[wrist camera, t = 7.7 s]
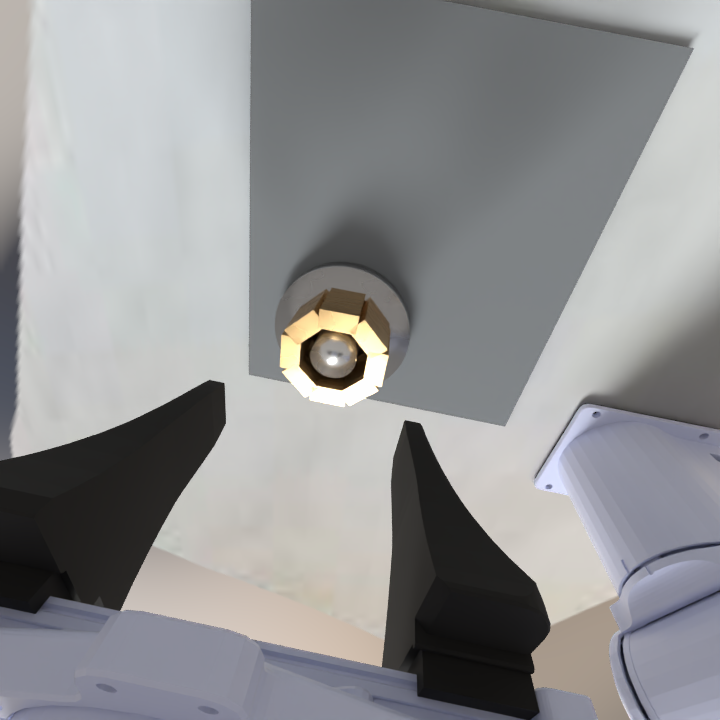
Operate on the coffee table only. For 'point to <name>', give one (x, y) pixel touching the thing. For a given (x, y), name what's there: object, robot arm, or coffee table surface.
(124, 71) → the coffee table surface
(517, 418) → the coffee table surface
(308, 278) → the metal peg stand
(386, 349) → the ring
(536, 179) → the bench mat
